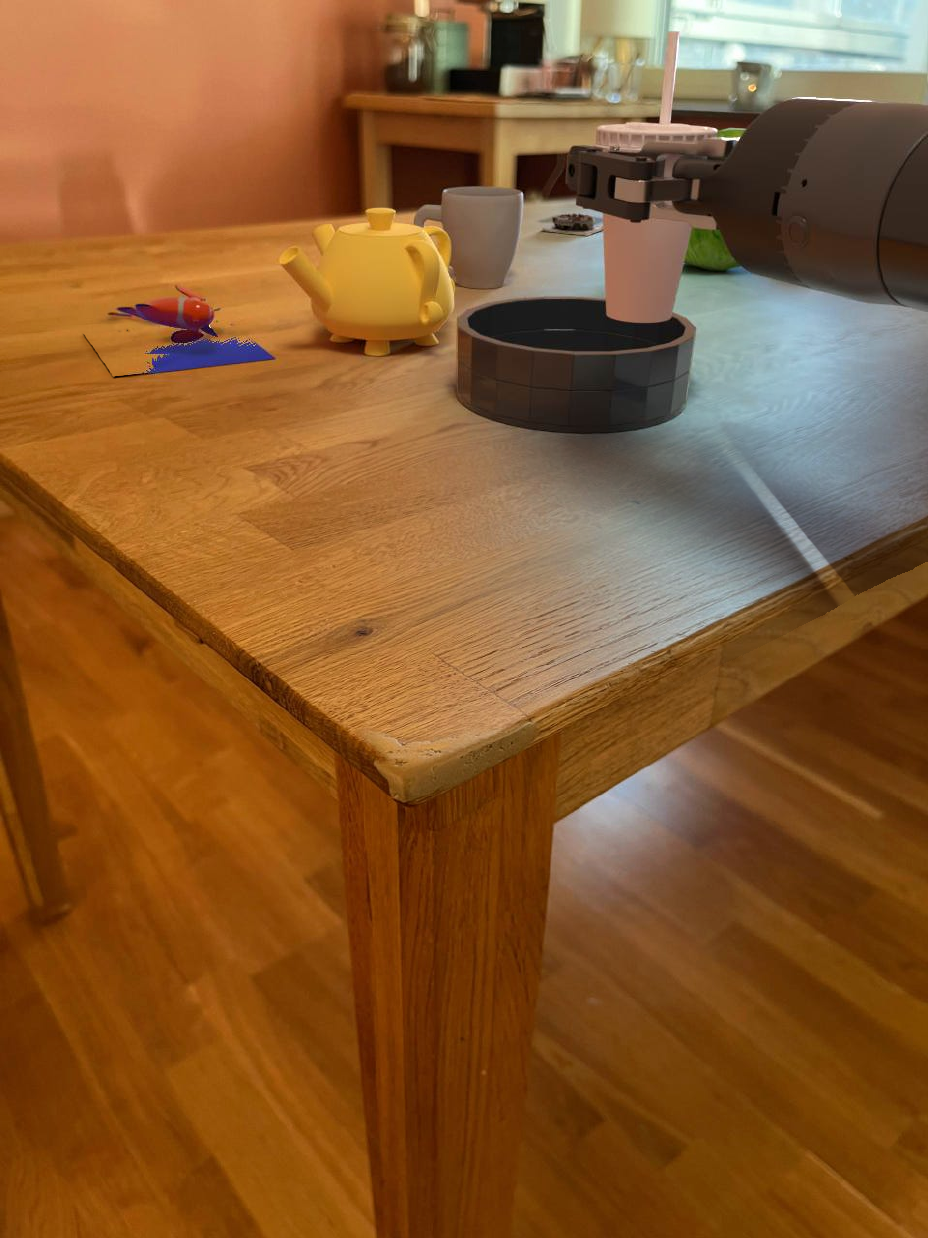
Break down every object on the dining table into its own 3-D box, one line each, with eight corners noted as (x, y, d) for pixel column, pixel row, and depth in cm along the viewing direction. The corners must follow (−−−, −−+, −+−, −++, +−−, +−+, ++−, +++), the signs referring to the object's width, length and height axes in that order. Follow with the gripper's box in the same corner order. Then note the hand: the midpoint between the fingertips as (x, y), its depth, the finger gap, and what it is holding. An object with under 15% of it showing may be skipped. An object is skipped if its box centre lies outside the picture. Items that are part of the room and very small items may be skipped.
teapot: (320, 318, 96) (312, 194, 90) (459, 323, 95) (461, 198, 89) (284, 360, 83) (272, 219, 78) (444, 366, 82) (444, 224, 77)
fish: (234, 291, 81) (127, 300, 77) (239, 349, 83) (136, 360, 80) (195, 264, 91) (98, 271, 87) (201, 316, 93) (107, 325, 90)
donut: (562, 223, 150) (563, 208, 148) (610, 228, 146) (611, 213, 145) (538, 230, 143) (538, 215, 142) (586, 235, 140) (588, 220, 139)
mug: (521, 276, 114) (524, 187, 110) (518, 293, 107) (522, 197, 102) (418, 273, 115) (417, 184, 110) (409, 289, 108) (407, 194, 103)
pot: (658, 362, 84) (665, 296, 81) (712, 432, 69) (724, 354, 66) (452, 362, 83) (453, 295, 80) (461, 433, 68) (462, 354, 65)
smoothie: (638, 334, 53) (667, 29, 46) (559, 311, 57) (575, 30, 50) (718, 318, 56) (758, 31, 49) (638, 298, 60) (663, 33, 53)
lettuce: (705, 245, 133) (634, 145, 125) (843, 180, 118) (771, 62, 110) (665, 330, 126) (586, 230, 118) (805, 274, 110) (725, 154, 103)
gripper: (995, 98, 43) (737, 86, 55) (735, 103, 37) (516, 88, 50) (950, 279, 46) (719, 228, 59) (709, 308, 41) (511, 245, 53)
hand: (627, 164), depth 54 cm, fingers closed on smoothie, 6 cm apart
